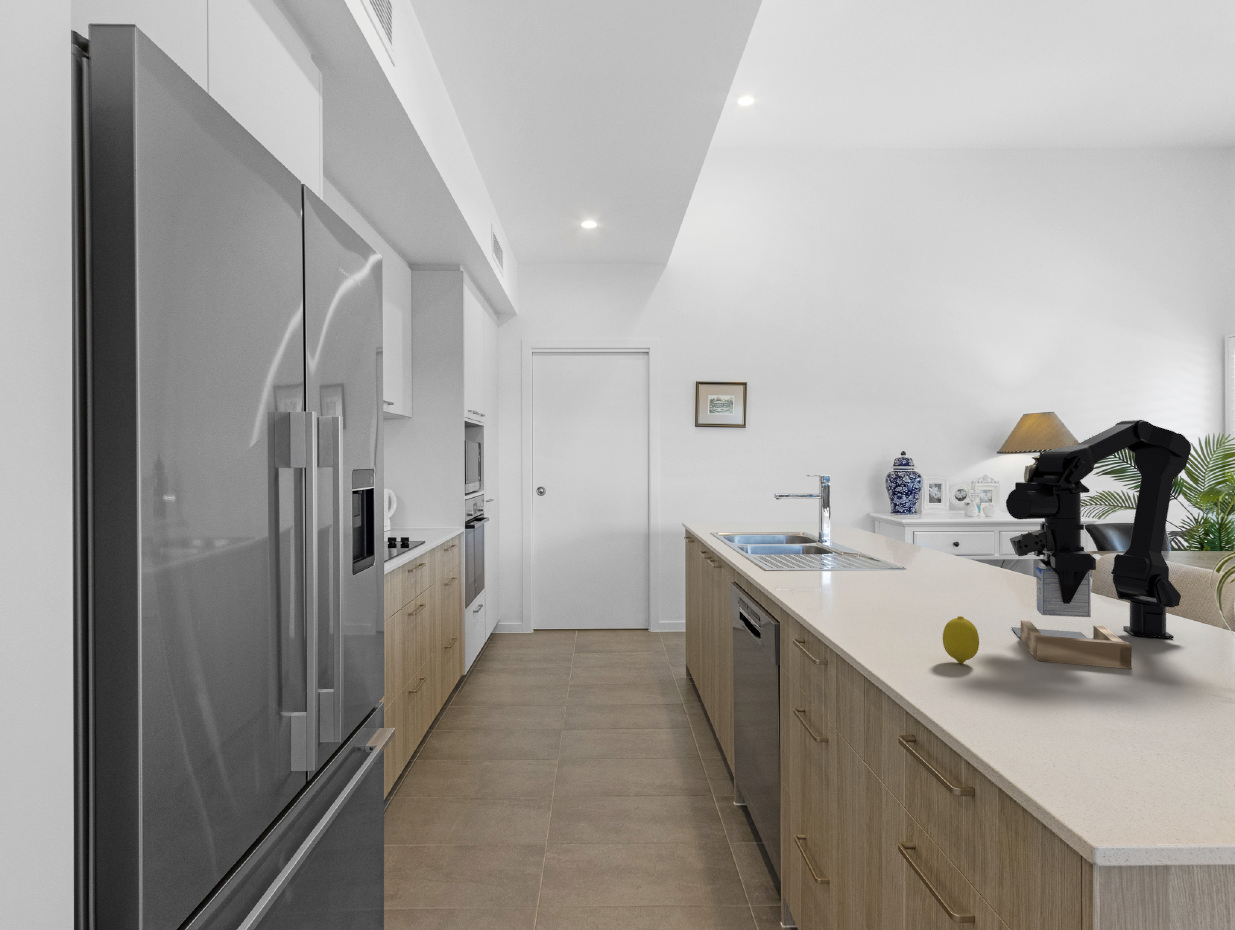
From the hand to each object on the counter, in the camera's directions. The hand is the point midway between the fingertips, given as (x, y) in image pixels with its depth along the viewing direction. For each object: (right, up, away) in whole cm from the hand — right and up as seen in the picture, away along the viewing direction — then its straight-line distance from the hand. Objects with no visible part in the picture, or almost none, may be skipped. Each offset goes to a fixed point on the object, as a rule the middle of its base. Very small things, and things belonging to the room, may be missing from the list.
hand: (1063, 600), depth 130 cm
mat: (+1, -8, +5) cm, 9 cm away
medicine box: (0, -3, 0) cm, 3 cm away
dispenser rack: (-3, -8, -7) cm, 11 cm away
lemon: (-26, -8, -13) cm, 30 cm away
